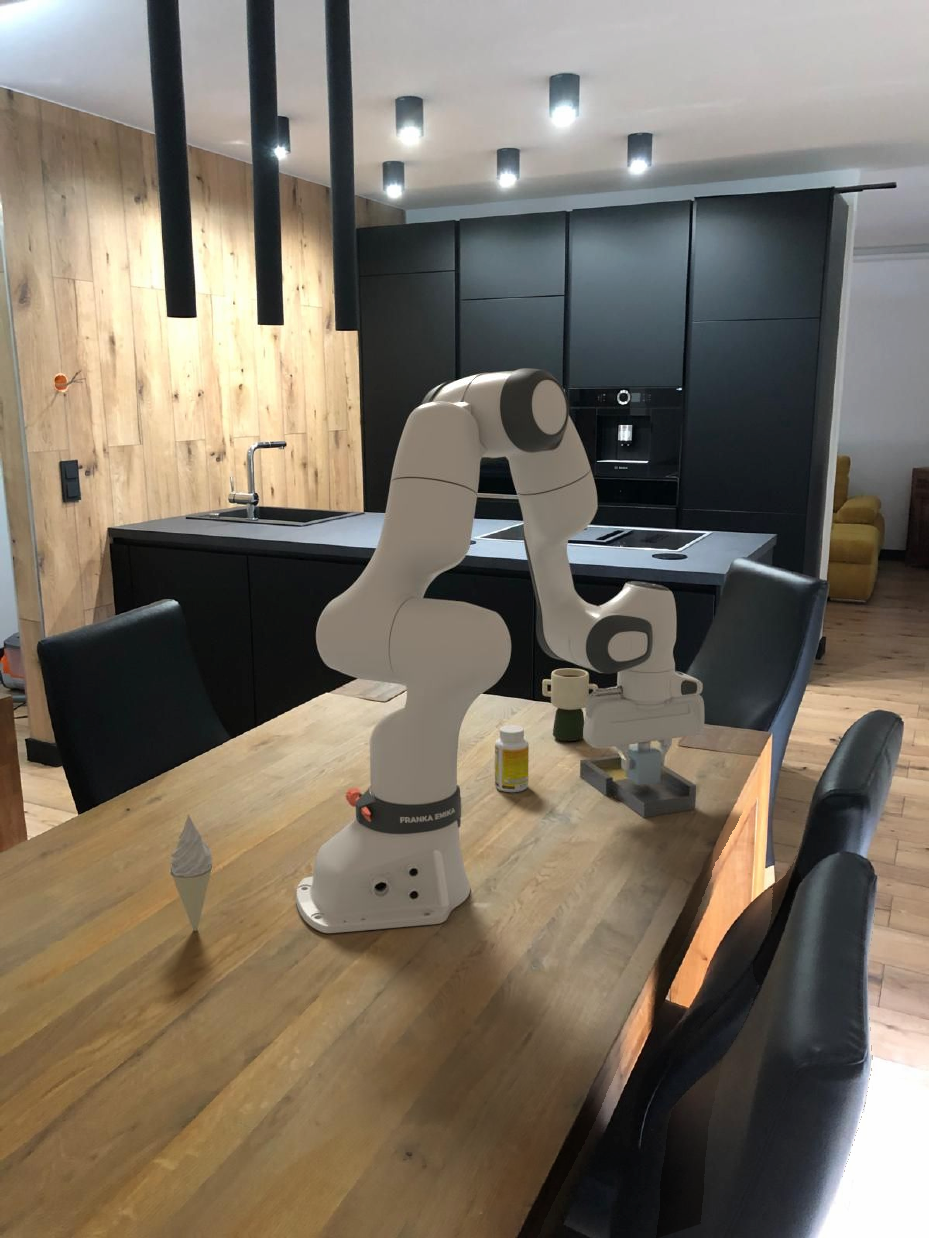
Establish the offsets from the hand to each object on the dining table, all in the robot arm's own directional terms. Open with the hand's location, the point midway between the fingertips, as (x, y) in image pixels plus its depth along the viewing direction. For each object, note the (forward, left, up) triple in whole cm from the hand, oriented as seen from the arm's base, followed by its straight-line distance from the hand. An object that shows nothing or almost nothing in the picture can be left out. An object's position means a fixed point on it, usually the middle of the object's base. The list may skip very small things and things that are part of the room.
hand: (642, 766), depth 160 cm
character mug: (+2, +31, -6) cm, 32 cm away
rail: (0, +2, -6) cm, 6 cm away
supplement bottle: (-18, +12, -6) cm, 22 cm away
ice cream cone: (-72, -17, -6) cm, 74 cm away
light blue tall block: (0, 0, -2) cm, 2 cm away
